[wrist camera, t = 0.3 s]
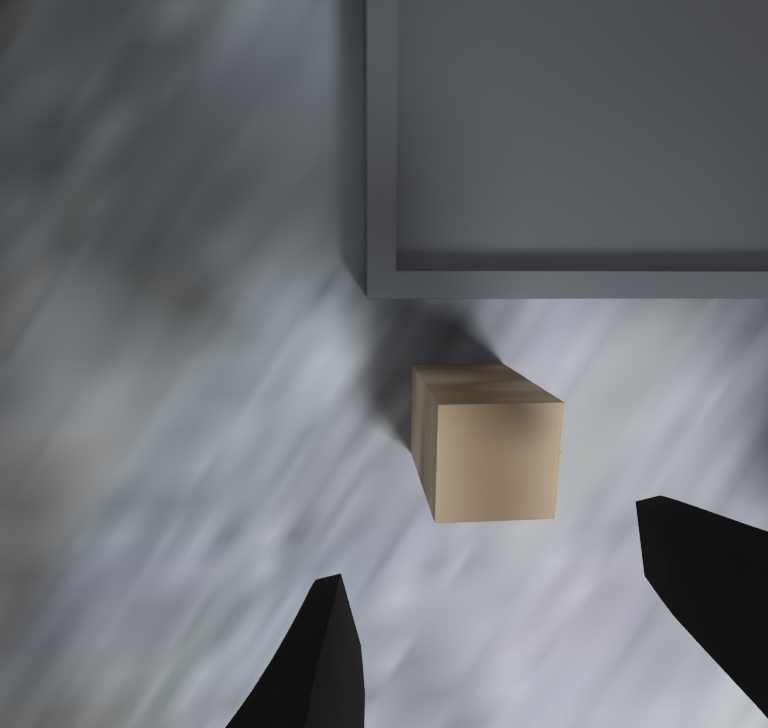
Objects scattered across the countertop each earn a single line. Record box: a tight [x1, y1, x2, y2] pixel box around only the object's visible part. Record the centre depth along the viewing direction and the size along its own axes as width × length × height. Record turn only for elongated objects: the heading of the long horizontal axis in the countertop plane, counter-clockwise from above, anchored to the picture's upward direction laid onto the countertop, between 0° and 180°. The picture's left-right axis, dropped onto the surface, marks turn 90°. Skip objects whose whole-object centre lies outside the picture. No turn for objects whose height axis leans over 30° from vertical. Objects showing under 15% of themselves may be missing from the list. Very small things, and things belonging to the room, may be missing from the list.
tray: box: [364, 0, 768, 299], centre depth 18 cm, size 20×16×2 cm
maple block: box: [411, 364, 564, 523], centre depth 18 cm, size 4×4×6 cm
